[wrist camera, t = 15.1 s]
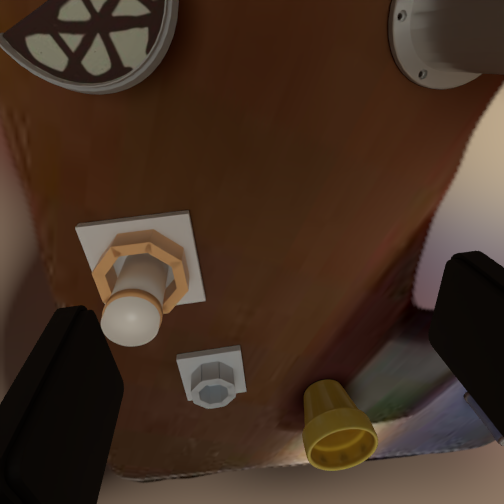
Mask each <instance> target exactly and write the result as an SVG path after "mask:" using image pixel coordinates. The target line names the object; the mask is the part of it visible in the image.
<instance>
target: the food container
mask: <svg viewBox="0 0 504 504" xmlns="http://www.w3.org/2000/svg"><path fill="white" fill-rule="evenodd" d="M178 4H179V0H48V1H46V2H45V3H44V4H43V5H41V6H40V7H39V8H37V9H36V10H35V11H33V12H32V13H31V14H29V15H28V16H27V17H25V18H24V19H22V20H21V21H20V22H18V23H17V24H16V25H14V26H13V27H12V28H10V29H9V30H8V31H6V32H5V33H0V47H1V48H2V49H3V50H4V51H5V52H6V53H7V54H8V55H10V56H11V57H12V58H13V59H14V60H15V61H16V62H18V63H19V64H20V65H22V66H23V67H24V68H26V69H27V70H29V71H30V72H32V73H33V74H35V75H37V76H39V77H40V78H42V79H44V80H46V81H48V82H50V83H53V84H55V85H58V86H61V87H63V88H66V89H69V90H72V91H76V92H81V93H86V94H109V93H116V92H120V91H123V90H126V89H129V88H131V87H133V86H135V85H136V84H138V83H140V82H141V81H143V80H144V79H145V78H146V77H148V76H149V75H150V74H151V73H152V72H153V71H154V70H155V69H156V68H157V66H158V65H159V64H160V63H161V61H162V59H163V58H164V56H165V54H166V53H167V51H168V49H169V46H170V44H171V41H172V39H173V36H174V32H175V27H176V23H177V17H178Z"/></svg>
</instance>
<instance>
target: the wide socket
mask: <svg viewBox="0 0 504 504" xmlns="http://www.w3.org/2000/svg"><path fill="white" fill-rule="evenodd" d="M75 229H76V231H77V234H78V237H79V239H80V242H81V244H82V247H83V249H84V252H85V255H86V257H87V260H88V262H89V265H90V267H91V270H92V275H93V278H94V280H95V283H96V286H97V288H98V291H99V293H100V296H101V298H102V301H103V303H105V304H106V302H107V300H108V299H109V298H110V296H111V294H112V291H113V289H114V286H115V284H116V281H117V279H118V276H119V274H120V271H121V269H122V266H123V264H124V261H125V259H126V257H127V256H128V255H135V254H143V253H149V254H150V255H152V256H154V257H155V258H157V259H159V260H161V261H162V262H164V263H166V264H168V268H169V269H168V276H167V282H166V288H165V294H164V300H163V306H162V309H163V314H166V313H169V312H170V311H171V310H172V309H173V308H174V307H175V305H179V304H187V303H194V302H201V301H206V296H205V291H204V286H203V280H202V275H201V270H200V265H199V260H198V254H197V249H196V244H195V239H194V234H193V228H192V223H191V218H190V213H189V210H185V211H177V212H169V213H161V214H153V215H145V216H137V217H129V218H120V219H112V220H104V221H96V222H88V223H80V224H78V225H77V226H76V227H75Z"/></svg>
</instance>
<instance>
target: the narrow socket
mask: <svg viewBox="0 0 504 504" xmlns="http://www.w3.org/2000/svg"><path fill="white" fill-rule="evenodd" d="M177 363H178V367H179V370H180V374H181V378H182V381H183V385H184V388H185V392H186V395H187V399H188V401H190V400H193V403H194V404H197V405H199V406H202V407H204V408H207V409H208V408H209V409H211V408H217V407H223V406H226V405H227V404H228V403H229V402H230V401H231V400H233V399H234V398H235V397H236V393H241V392H246V385H245V378H244V371H243V363H242V356H241V349H240V345H237V346H230V347H223V348H217V349H210V350H203V351H197V352H190V353H183V354H177Z"/></svg>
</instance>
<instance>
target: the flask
mask: <svg viewBox="0 0 504 504" xmlns="http://www.w3.org/2000/svg"><path fill="white" fill-rule="evenodd" d="M465 396H466V397H465ZM464 398H465V400H466V401H467V403H468V404H469V405H470V406H471V408H472V409H473V410H474V411H475V413H476V414H477V415H478V417H479V418H480V419H481V420H482V422H483V423H484V424H485V426H486V427H487V428H488V430H489V431H490V432H491V434H492V435H493V437H494V438H495V440H496V441H497V442H498V443H499V444H500V445H501V446H504V437H503V436H502V435H501V433H500V432H499V431H498V430H497V428H496V427H495V426H494V424H493V423H492V422H491V421H490V419H489V418H488V417H487V416H486V414H485V413H484V412H483V410H482V409H481V408H480V407H479V405H478V404H477V403H476V402H475V400H474V399H473V398H472V396H471V395H470V394H469V393H468V392H466V393H465V394H464Z"/></svg>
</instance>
